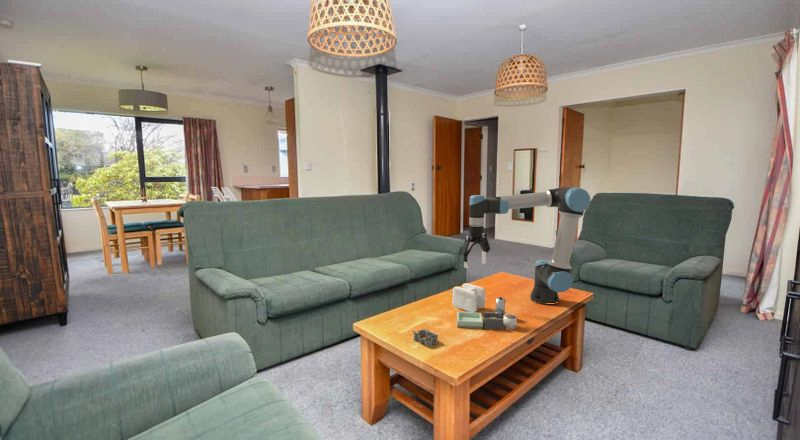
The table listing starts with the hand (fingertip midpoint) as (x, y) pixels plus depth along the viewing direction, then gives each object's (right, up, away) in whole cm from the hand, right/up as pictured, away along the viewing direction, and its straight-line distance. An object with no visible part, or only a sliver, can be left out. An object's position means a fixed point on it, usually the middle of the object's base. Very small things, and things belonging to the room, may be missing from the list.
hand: (475, 265), depth 191 cm
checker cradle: (+5, -26, -17) cm, 31 cm away
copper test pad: (+5, -23, -18) cm, 30 cm away
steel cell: (+11, -25, -7) cm, 28 cm away
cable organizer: (-3, -23, +4) cm, 24 cm away
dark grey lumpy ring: (-28, -28, -34) cm, 52 cm away
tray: (-6, -25, -15) cm, 30 cm away
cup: (+12, -26, -19) cm, 35 cm away
